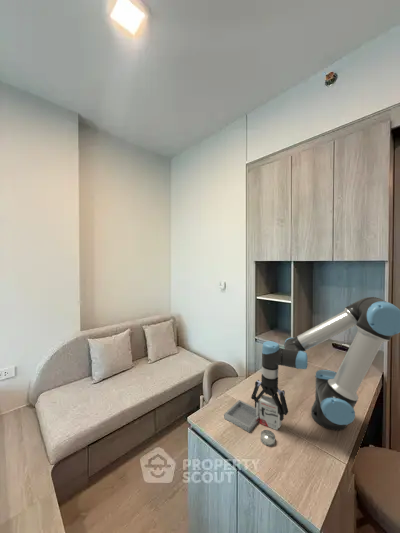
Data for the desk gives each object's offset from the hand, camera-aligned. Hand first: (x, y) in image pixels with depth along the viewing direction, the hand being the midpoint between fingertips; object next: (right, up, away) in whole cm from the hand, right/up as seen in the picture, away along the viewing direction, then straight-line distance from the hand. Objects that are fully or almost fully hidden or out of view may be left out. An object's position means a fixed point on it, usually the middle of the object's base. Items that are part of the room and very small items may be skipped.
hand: (268, 419), depth 107 cm
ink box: (+1, -2, 0) cm, 2 cm away
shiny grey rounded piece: (-3, -2, -10) cm, 10 cm away
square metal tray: (-11, -2, +4) cm, 12 cm away
